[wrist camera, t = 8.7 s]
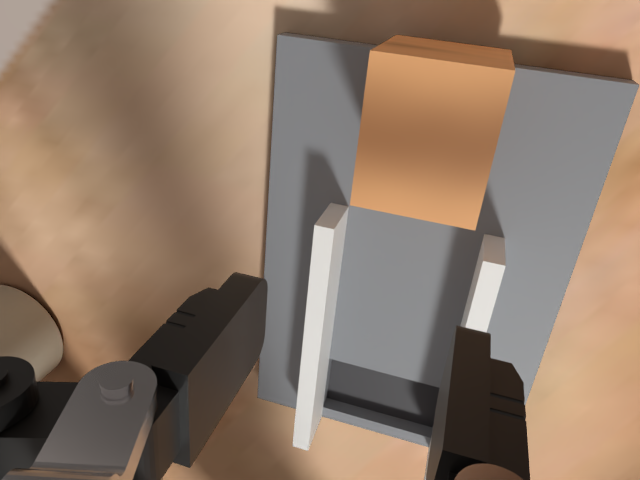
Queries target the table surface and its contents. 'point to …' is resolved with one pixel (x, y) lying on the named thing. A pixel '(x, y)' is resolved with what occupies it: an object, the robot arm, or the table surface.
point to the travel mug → (28, 332)
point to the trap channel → (417, 244)
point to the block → (430, 128)
